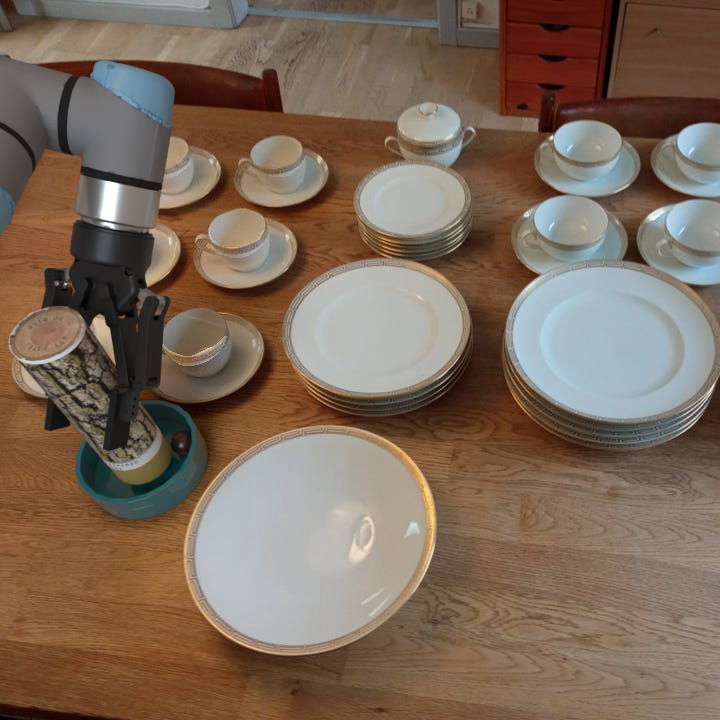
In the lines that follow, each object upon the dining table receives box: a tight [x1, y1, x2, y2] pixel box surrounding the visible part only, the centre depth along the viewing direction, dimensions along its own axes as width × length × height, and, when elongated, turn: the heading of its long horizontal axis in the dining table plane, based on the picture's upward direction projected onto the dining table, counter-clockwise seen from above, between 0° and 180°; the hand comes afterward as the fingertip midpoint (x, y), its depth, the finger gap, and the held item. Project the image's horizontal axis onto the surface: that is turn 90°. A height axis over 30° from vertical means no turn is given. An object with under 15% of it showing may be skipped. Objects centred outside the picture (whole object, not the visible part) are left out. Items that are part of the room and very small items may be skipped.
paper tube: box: [8, 306, 172, 485], centre depth 80 cm, size 7×7×25 cm
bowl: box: [74, 400, 209, 520], centre depth 90 cm, size 14×14×4 cm
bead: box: [171, 431, 192, 455], centre depth 91 cm, size 3×3×3 cm
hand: (85, 437), depth 78 cm, fingers closed on paper tube, 7 cm apart
